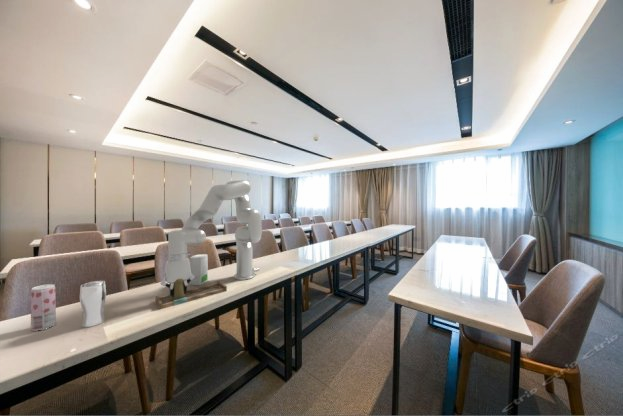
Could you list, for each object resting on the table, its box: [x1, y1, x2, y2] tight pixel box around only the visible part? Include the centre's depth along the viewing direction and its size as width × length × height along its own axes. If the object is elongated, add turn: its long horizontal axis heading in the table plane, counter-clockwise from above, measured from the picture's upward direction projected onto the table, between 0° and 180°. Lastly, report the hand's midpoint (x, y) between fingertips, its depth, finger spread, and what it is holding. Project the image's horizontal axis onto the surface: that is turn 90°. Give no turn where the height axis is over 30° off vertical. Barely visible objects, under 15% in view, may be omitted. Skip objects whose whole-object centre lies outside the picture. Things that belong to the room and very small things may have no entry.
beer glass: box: [79, 280, 107, 328], centre depth 81 cm, size 7×7×15 cm
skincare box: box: [189, 253, 209, 286], centre depth 123 cm, size 8×7×16 cm
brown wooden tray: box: [154, 280, 227, 310], centre depth 106 cm, size 29×11×2 cm, turn 134°
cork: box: [170, 279, 186, 302], centre depth 102 cm, size 6×6×11 cm
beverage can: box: [30, 283, 57, 332], centre depth 78 cm, size 6×6×15 cm
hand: (178, 294), depth 102 cm, fingers closed on cork, 4 cm apart
